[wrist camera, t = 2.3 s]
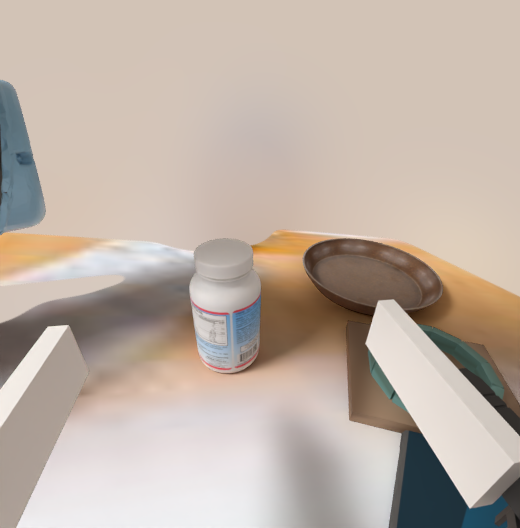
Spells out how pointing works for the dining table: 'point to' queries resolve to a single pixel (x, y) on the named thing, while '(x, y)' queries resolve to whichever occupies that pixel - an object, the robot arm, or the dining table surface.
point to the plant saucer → (370, 275)
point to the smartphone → (433, 492)
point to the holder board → (373, 396)
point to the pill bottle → (226, 305)
